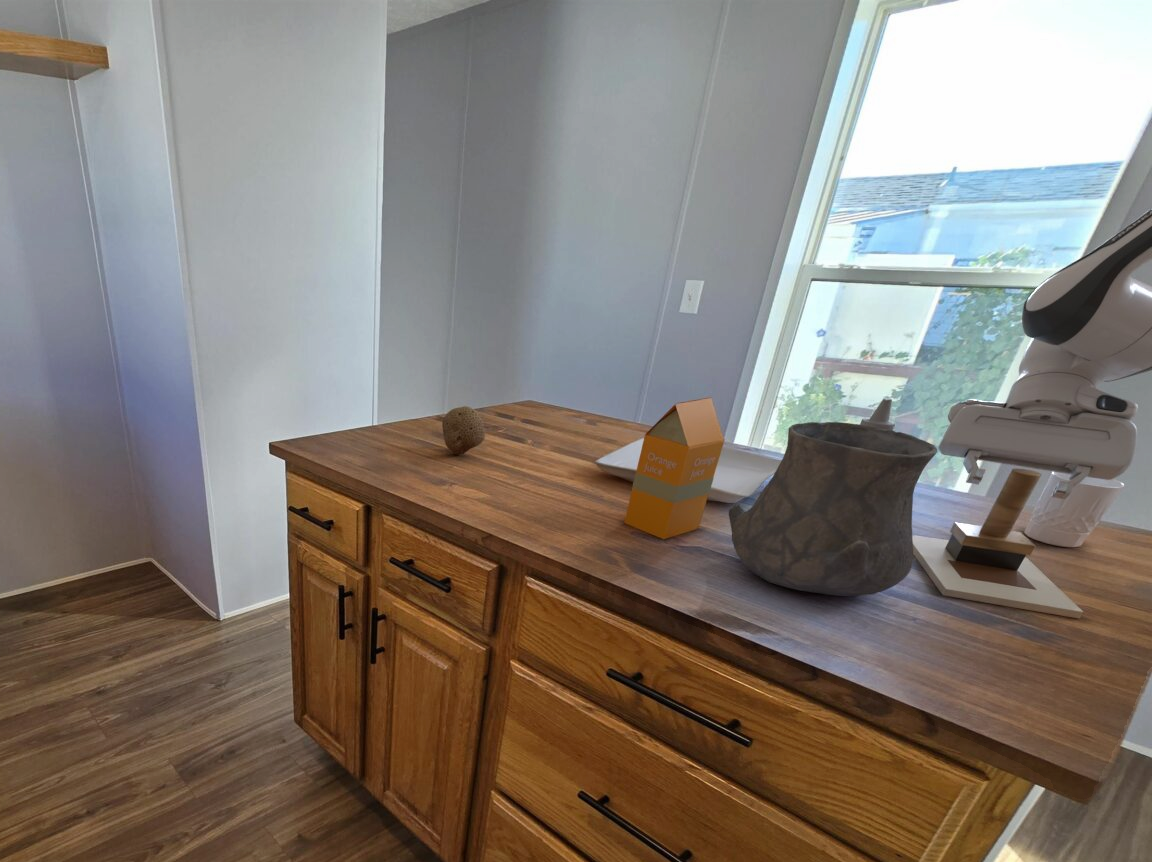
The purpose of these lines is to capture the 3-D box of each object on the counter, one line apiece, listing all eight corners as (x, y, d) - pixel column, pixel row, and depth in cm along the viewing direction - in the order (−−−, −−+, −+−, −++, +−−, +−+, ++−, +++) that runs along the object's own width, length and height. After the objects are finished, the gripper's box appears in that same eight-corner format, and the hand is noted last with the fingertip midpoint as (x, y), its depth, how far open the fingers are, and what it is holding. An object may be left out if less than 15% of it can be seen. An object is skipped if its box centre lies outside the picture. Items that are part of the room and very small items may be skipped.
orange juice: (699, 528, 105) (737, 402, 95) (664, 539, 101) (699, 408, 91) (657, 512, 111) (689, 392, 101) (622, 522, 107) (652, 397, 97)
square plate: (646, 449, 144) (651, 431, 142) (785, 479, 127) (792, 459, 125) (589, 477, 127) (593, 457, 125) (740, 515, 110) (748, 494, 108)
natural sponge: (483, 450, 142) (488, 403, 137) (482, 462, 134) (488, 413, 129) (441, 447, 143) (445, 400, 138) (438, 459, 135) (442, 410, 130)
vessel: (753, 531, 104) (797, 404, 95) (919, 585, 89) (992, 440, 79) (680, 566, 93) (721, 426, 83) (856, 635, 78) (932, 472, 68)
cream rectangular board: (1015, 556, 98) (1019, 550, 97) (1079, 618, 82) (1084, 611, 81) (902, 539, 103) (905, 533, 102) (942, 595, 87) (946, 588, 86)
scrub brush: (1006, 557, 95) (1054, 470, 89) (1021, 572, 91) (1072, 482, 84) (941, 546, 98) (984, 462, 92) (953, 561, 93) (998, 473, 87)
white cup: (1082, 553, 99) (1121, 491, 94) (1013, 536, 104) (1047, 476, 99) (1090, 540, 103) (1128, 480, 98) (1024, 525, 108) (1057, 466, 104)
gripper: (961, 385, 99) (931, 463, 97) (1156, 406, 88) (1126, 494, 86) (948, 409, 105) (919, 484, 103) (1130, 432, 93) (1101, 515, 92)
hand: (1015, 488), depth 94 cm, fingers open, 8 cm apart
